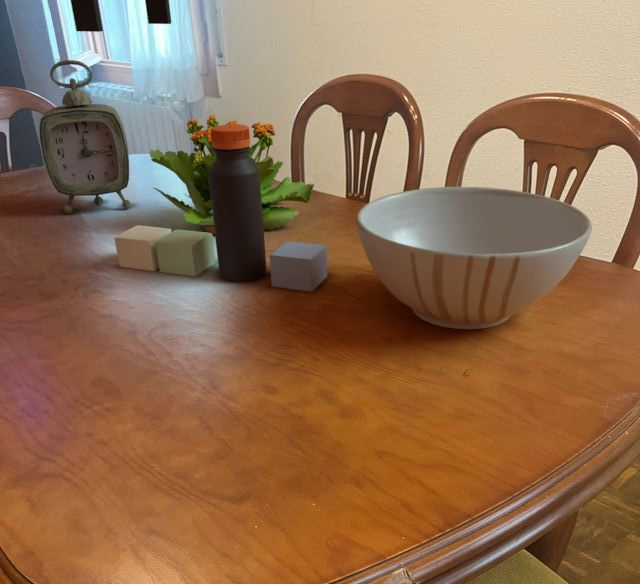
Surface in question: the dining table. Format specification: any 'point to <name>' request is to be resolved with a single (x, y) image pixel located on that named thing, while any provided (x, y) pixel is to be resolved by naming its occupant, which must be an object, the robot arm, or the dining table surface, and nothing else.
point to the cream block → (139, 247)
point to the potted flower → (197, 179)
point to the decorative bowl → (471, 250)
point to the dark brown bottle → (236, 206)
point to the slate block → (298, 266)
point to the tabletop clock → (84, 145)
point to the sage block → (185, 252)
